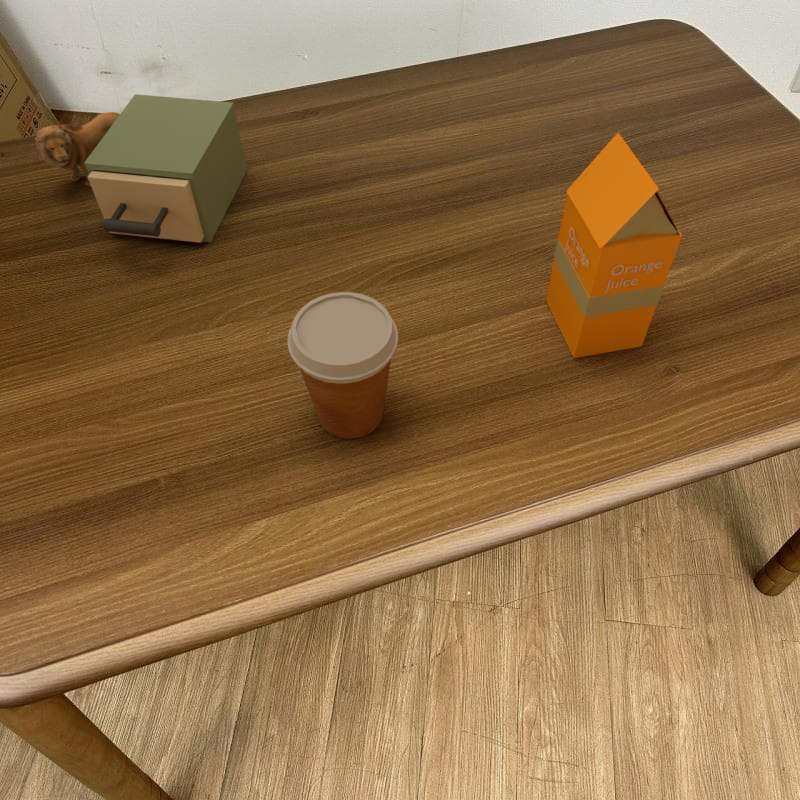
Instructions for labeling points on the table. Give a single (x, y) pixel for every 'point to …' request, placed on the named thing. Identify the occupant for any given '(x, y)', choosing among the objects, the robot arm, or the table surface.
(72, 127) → the lion figurine
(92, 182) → the drawer
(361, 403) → the disposable coffee cup
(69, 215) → the table surface
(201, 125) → the cabinet
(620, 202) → the orange juice
